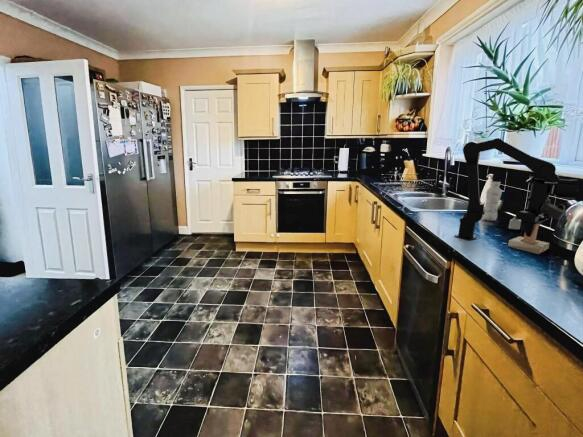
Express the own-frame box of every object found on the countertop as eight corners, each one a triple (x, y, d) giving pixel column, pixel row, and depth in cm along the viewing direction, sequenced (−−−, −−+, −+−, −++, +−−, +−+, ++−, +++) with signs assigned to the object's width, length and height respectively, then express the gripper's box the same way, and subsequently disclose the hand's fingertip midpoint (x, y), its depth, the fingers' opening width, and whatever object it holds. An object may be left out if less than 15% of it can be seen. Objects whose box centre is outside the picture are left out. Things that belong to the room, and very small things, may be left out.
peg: (531, 245, 121) (536, 224, 119) (522, 242, 124) (526, 223, 122) (534, 243, 123) (539, 223, 121) (525, 241, 125) (530, 221, 123)
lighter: (509, 228, 150) (513, 212, 148) (508, 227, 152) (511, 211, 150) (526, 230, 149) (530, 213, 147) (524, 229, 151) (528, 212, 149)
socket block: (538, 254, 117) (539, 247, 116) (507, 246, 125) (509, 240, 124) (548, 249, 123) (549, 243, 122) (518, 242, 130) (519, 236, 130)
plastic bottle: (481, 218, 170) (488, 180, 165) (496, 220, 166) (504, 182, 161) (480, 220, 164) (487, 181, 160) (495, 222, 161) (503, 183, 156)
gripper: (556, 202, 107) (546, 246, 111) (574, 197, 118) (564, 237, 121) (519, 196, 116) (510, 237, 120) (538, 192, 126) (530, 230, 130)
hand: (530, 235), depth 123 cm, fingers closed on peg, 3 cm apart
